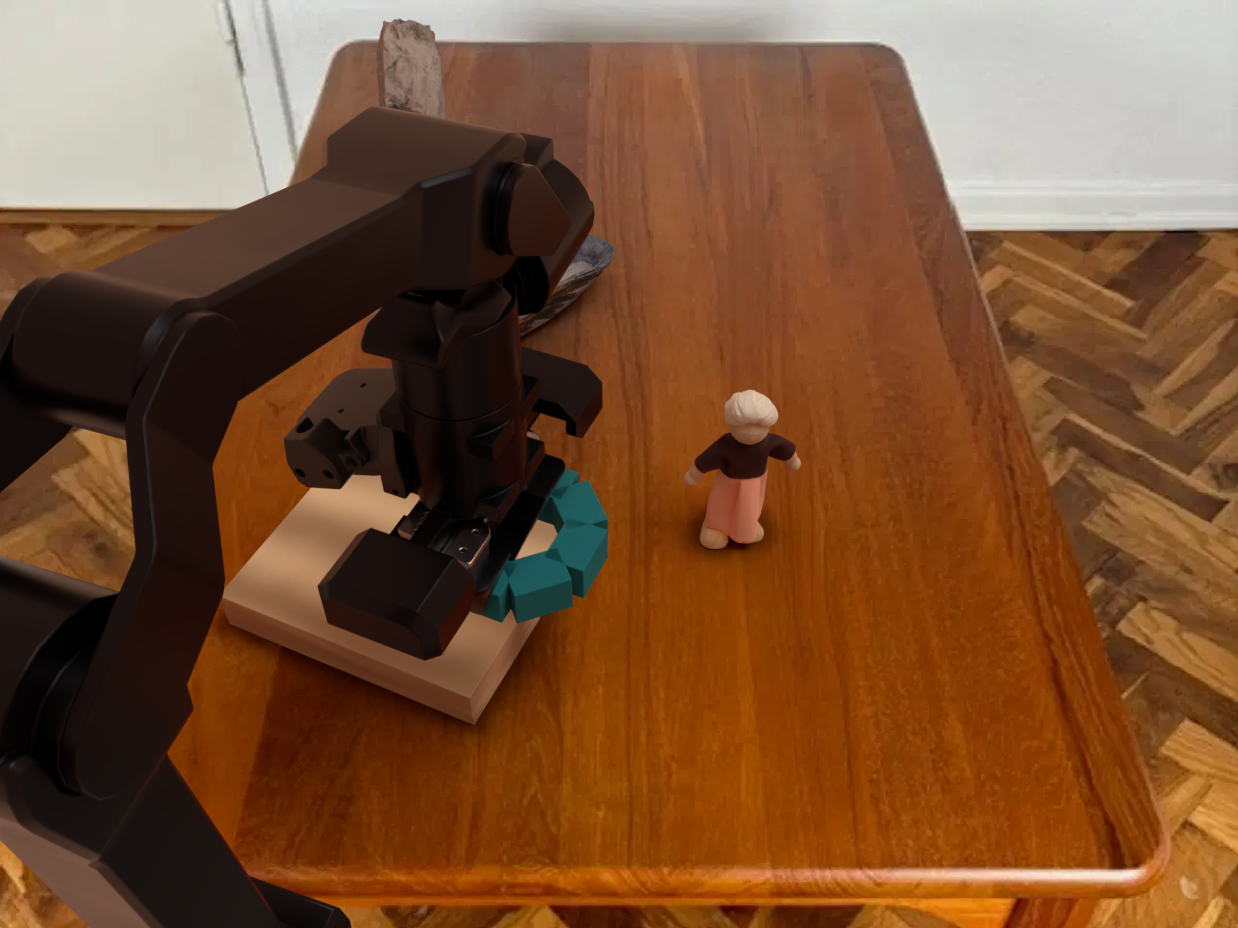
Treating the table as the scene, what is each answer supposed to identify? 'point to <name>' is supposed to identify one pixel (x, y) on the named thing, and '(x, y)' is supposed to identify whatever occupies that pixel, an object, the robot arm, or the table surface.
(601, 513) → the ring
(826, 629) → the table surface
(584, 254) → the seashell
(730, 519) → the grandmother figurine
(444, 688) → the board
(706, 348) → the table surface
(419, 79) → the decorative rock
